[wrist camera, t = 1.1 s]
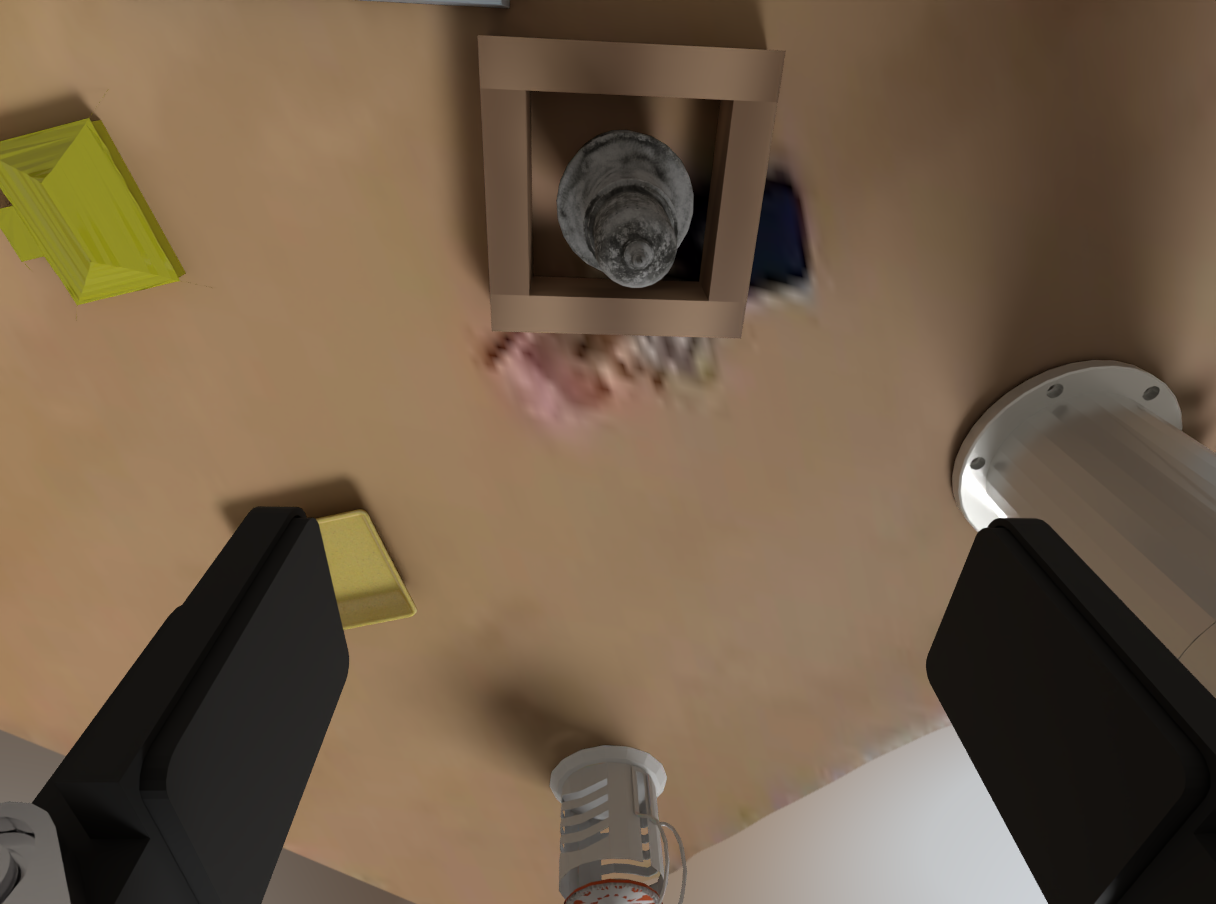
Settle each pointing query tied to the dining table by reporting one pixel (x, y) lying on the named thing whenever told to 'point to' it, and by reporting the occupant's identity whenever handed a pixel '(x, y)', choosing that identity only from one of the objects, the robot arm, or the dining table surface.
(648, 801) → the french press
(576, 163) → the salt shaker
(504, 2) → the tray
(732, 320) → the hollow square frame
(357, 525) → the yellow shallow rimmed piece
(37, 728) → the dining table surface
